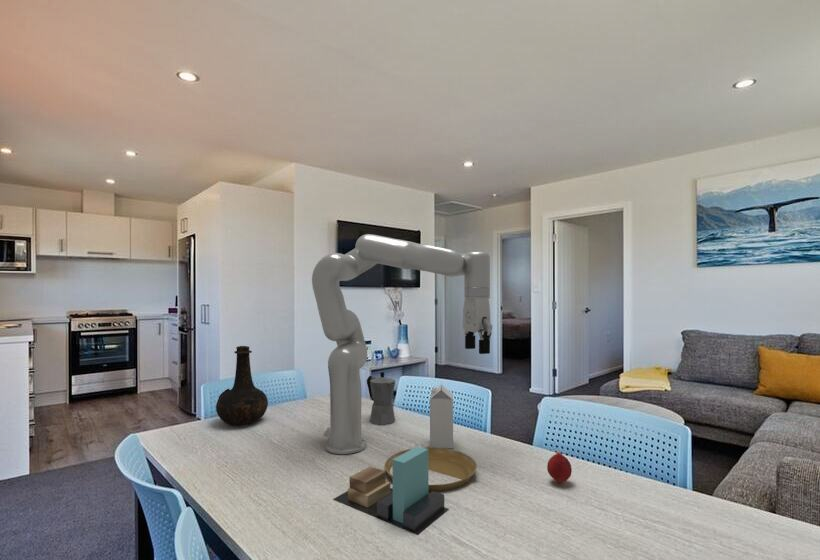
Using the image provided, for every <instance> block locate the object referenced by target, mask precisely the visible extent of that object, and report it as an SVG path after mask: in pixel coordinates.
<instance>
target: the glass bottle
mask: <svg viewBox="0 0 820 560" xmlns="http://www.w3.org/2000/svg"><path fill="white" fill-rule="evenodd" d="M235 349H236V350H235V351H234V352H233V353H234V354H236V362H235V366H236V367H235V375H234V382H233V386H232V388H227V389H225V390H223V392H221V393H220V394H219V395H218V399H217V402H216V405H215V411H216V415H217V417H218V418H219V419H220V420H221V421H222V422H224V424H226V425H228V426H230V427H245V425H246V426H249V425H252V424H254V423H257V422H258V421H260V419H262V418H263V416H264V415H265V413H266V412H267V409H268V405H269V401H268V397H267V395H266V394H265V393H264V391H263V390H261V389H259V388H257V387H256V386H255V384H254V382H253V376H252V371H251V362H250V359H251V358H250V354H251V353H253V351H252V350H250V346H247V345H239V346H236V347H235Z"/></svg>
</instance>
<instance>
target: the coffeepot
mask: <svg viewBox="0 0 820 560" xmlns="http://www.w3.org/2000/svg"><path fill="white" fill-rule="evenodd" d="M379 375H380V376H379V377H378V376H373V375H369V376H368V377H367V379H366V384H367V388H368V394H369V398H371V399H373V402H372V405H371V412H370V416H369V417H370V419H369V421H370V423H371V424H372V425H376V424H377V425H376V426H387V424H388V425H391V424H393V423H394V422H395V421H396V418H395V417H396V416H395V411H394V406H393V403H392V399H393V398H394V392H395V386H396V380H395V379H394V378H392V377H386V376H385V372H383V371H381V372H380V373H379Z"/></svg>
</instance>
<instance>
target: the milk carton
mask: <svg viewBox="0 0 820 560" xmlns="http://www.w3.org/2000/svg"><path fill="white" fill-rule="evenodd" d="M430 392H431V393H430V395H429V396H430V397H429V447H438V448H447V449H454V401H453V400H454V394H453V393H452V391H450V390H449V389H447V388H446V387H445V385H443V381H441V382H440V385H439V386H438V387H436V386H434V387H433V388H432V389H431V390H430Z"/></svg>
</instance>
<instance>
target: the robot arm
mask: <svg viewBox="0 0 820 560" xmlns="http://www.w3.org/2000/svg"><path fill="white" fill-rule="evenodd" d="M490 257H491V256H490V254H489V252H485V251H468V252H466V253H460V252H458V251H457V250H453V249H449V248H444V247H438V246H433V245H429V244H421V243H417V242H414V241H409V240H405V239H398V238H392V237H389V236H388V237H387V236H384V235H378V234H373V233H372V234H370V233H366V234H363V235H361V236H360V237H359V238H357V240H356V242H355V247H354V248H353V249H352V250H350V251H348V252H347V253H345V254H343V253H341V252H334V253H333V252H332V253H328V254H327V255H325V256H323V257H322V258H321V259H320V260H319V261H318V262H317V263H316V264H315V267H314V268H313V271H312V273H311V274H312V275H311V284H312V285H311V286H312V290H313V295H314V298H315V301H316V306H317V310H318V316H319V319H320V322H321V327H322V331H323V334H324V336H325V337H326V338H327V339H328V340H330V341H332V342H335V343H336V347H335V348H334V349H333V350H332V351H331V352H330V355H329V357H328V360H327V369H328V377H329V393H330V394H329V399H330V408H329V409H330V413H329V414H330V416H329V417H330V421H329V423H330V424H329V425H330V427H327V428H326V430H325V431H324V432H323V436H325V437H328V438H327V440H328V441H327V442H325V444H324V445H325V447H324V448H325V450H326V451H327V452H329V453H331V454H334V455H351V454H356V453H359V452H361V451H363V450H365V449H366V448H367V444H368V443H367V440H366V439H365V438H363V437H362V383H361V382H362V381H361V374H360V373H361V372H360V369H361V368H362V367H364V366H365V364H366V362H367V360H368V348H367V344H366V341H365V336H364V331H363V330H362V325H361V322H360V320H359V317H358V316H357V314H356V313H355V312H353V311H352V310H350V309H348V308H347V305H346V302H345V297H344V294H343V292H342V289H341V286H340V282H343V281H344V282H347V281H351V280H353V279H355V278H356V277H358V276H360V275H362V274H363V273H364V272H366V271H368V270H370V269H372V268H373V267H374V266H376V265H378V264H380V265H384V266H390V267H394V268H399V269H403V270H417V271H421V272H422V271H423V272H427V273H432V274H437V275H442V276H447V277H451V278H452V277H459V276H464V279H463V280H464V282H463V285H464V287H463V289H464V290H463V292H464V293H463V295H464V297H463V298H464V301H463V310H462V329H463V330H464V349H465V350H473V349H476V335H475V333H477V332H478V336H479V339H478V353H479V355H487V354H490V353H491V339H492V338H491V336H492V330H493V325H492V323H491V307H490V300H489V299H490V298H491V278H490V277H491V275H490V274H491V273H490V272H491V264H490V263H491V260H490Z"/></svg>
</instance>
